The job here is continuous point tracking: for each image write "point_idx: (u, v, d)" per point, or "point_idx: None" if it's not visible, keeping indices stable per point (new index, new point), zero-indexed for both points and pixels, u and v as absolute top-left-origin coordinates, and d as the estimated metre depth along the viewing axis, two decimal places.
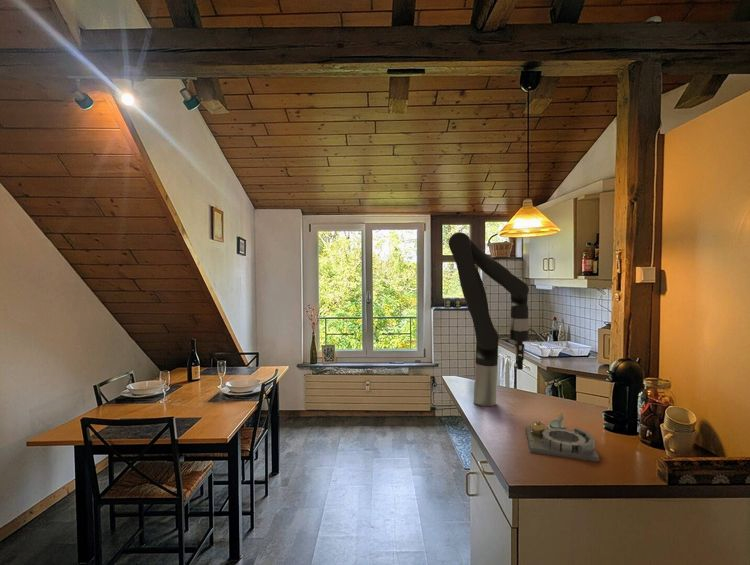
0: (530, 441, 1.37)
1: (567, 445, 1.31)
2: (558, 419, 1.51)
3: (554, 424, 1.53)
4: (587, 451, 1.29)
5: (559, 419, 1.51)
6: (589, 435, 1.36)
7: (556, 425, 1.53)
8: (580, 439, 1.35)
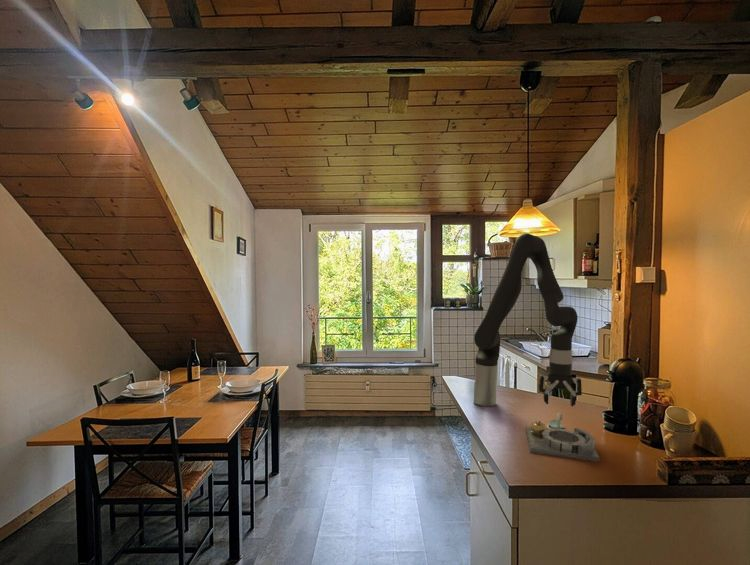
0: (530, 441, 1.37)
1: (567, 445, 1.31)
2: (557, 419, 1.51)
3: (553, 424, 1.53)
4: (587, 451, 1.29)
5: (558, 419, 1.51)
6: (589, 435, 1.36)
7: (555, 425, 1.53)
8: (580, 439, 1.35)
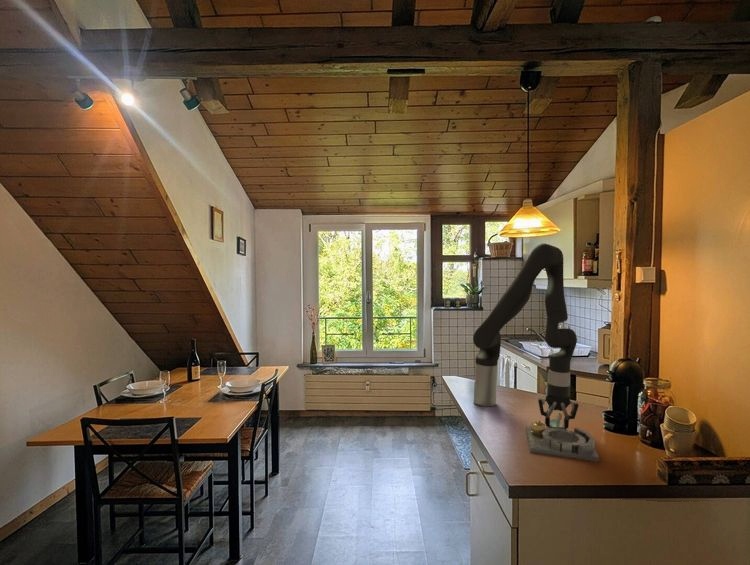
0: (530, 441, 1.37)
1: (567, 445, 1.31)
2: (556, 419, 1.51)
3: (552, 424, 1.53)
4: (587, 451, 1.29)
5: (557, 419, 1.51)
6: (589, 435, 1.36)
7: (554, 425, 1.53)
8: (580, 439, 1.35)
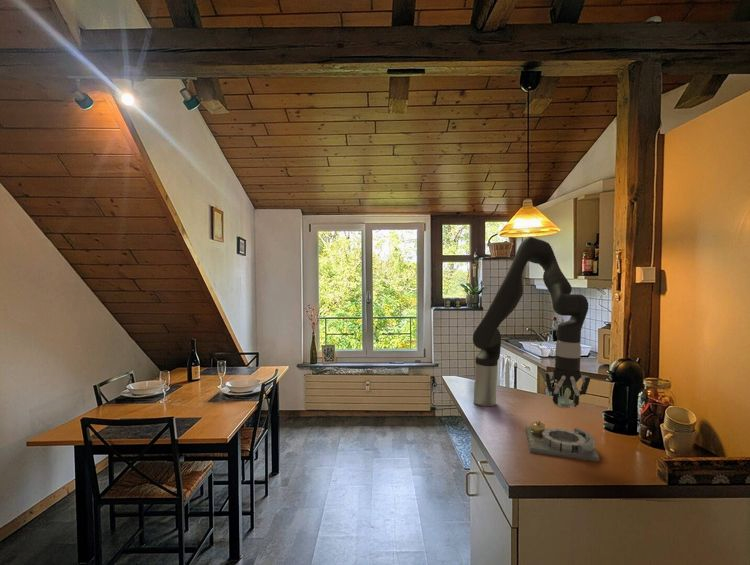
0: (530, 441, 1.37)
1: (567, 445, 1.31)
2: (565, 394, 1.36)
3: (561, 400, 1.38)
4: (587, 451, 1.29)
5: (566, 394, 1.35)
6: (589, 435, 1.36)
7: (563, 401, 1.38)
8: (580, 439, 1.35)
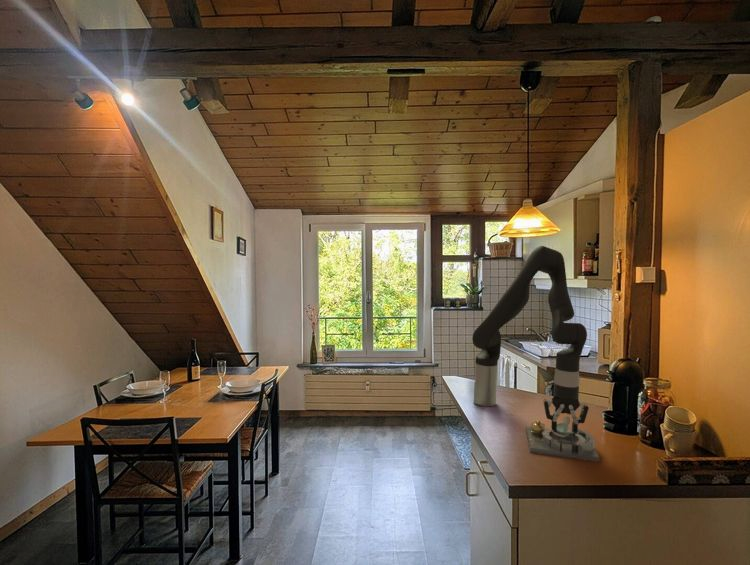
0: (530, 441, 1.37)
1: (567, 445, 1.31)
2: (564, 423, 1.37)
3: (559, 428, 1.39)
4: (587, 451, 1.29)
5: (565, 423, 1.36)
6: (589, 435, 1.36)
7: (562, 429, 1.38)
8: (580, 439, 1.35)
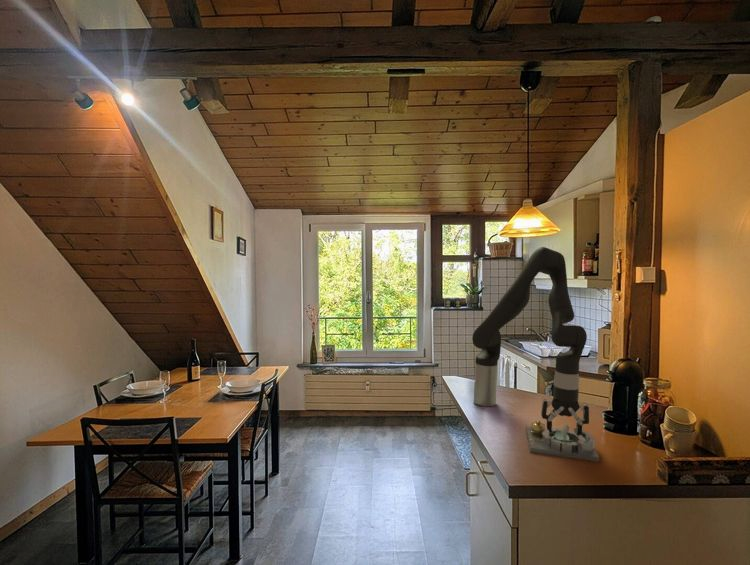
0: (530, 441, 1.37)
1: (567, 445, 1.31)
2: (563, 430, 1.37)
3: (559, 436, 1.39)
4: (587, 451, 1.29)
5: (564, 430, 1.36)
6: (589, 435, 1.36)
7: (561, 437, 1.38)
8: (580, 439, 1.35)
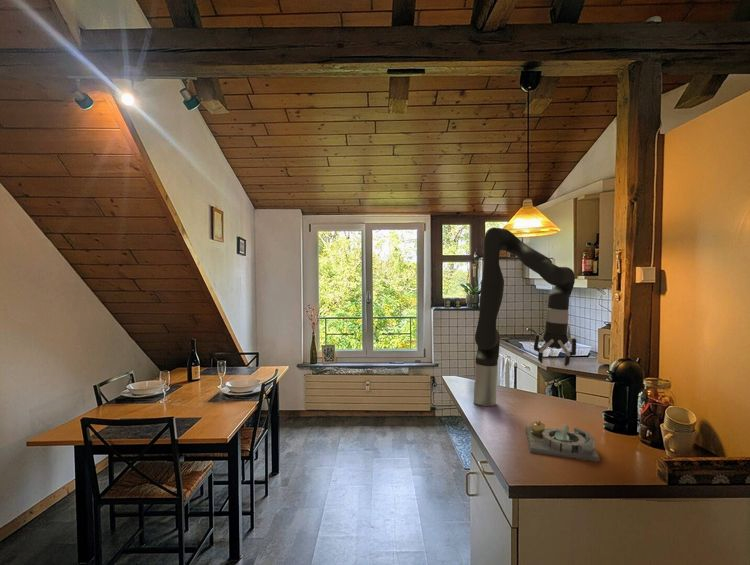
0: (530, 441, 1.37)
1: (567, 445, 1.31)
2: (563, 430, 1.37)
3: (559, 436, 1.39)
4: (587, 451, 1.29)
5: (564, 430, 1.36)
6: (589, 435, 1.36)
7: (561, 437, 1.38)
8: (580, 439, 1.35)
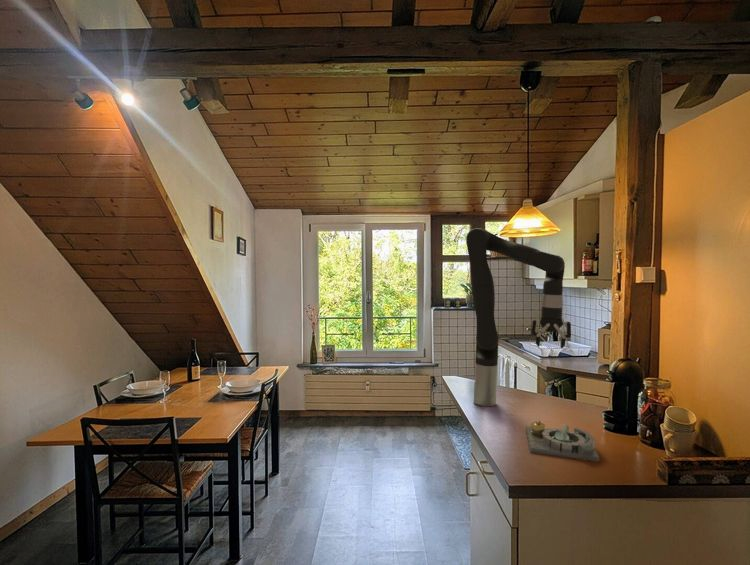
0: (530, 441, 1.37)
1: (567, 445, 1.31)
2: (563, 430, 1.37)
3: (559, 436, 1.39)
4: (587, 451, 1.29)
5: (564, 430, 1.36)
6: (589, 435, 1.36)
7: (561, 437, 1.38)
8: (580, 439, 1.35)
